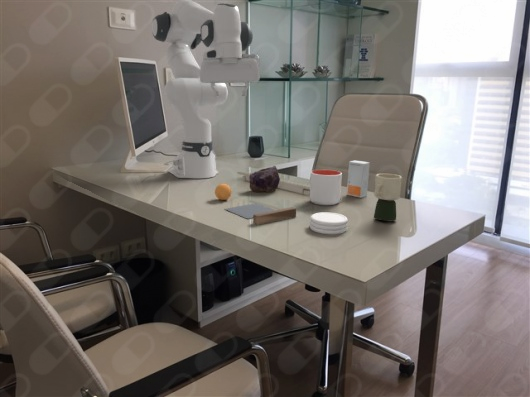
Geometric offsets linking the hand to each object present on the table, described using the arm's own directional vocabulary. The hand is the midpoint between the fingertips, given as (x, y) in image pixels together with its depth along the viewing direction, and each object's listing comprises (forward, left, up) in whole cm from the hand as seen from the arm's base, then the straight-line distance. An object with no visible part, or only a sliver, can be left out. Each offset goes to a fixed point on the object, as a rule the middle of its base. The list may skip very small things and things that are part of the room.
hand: (230, 96), depth 150 cm
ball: (+10, -10, -30) cm, 33 cm away
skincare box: (+31, +32, -33) cm, 56 cm away
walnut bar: (+37, -10, -33) cm, 51 cm away
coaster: (+51, -3, -33) cm, 61 cm away
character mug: (+55, +16, -33) cm, 66 cm away
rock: (+8, +10, -33) cm, 36 cm away
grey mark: (+26, -10, -33) cm, 43 cm away
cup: (+31, +16, -33) cm, 48 cm away
